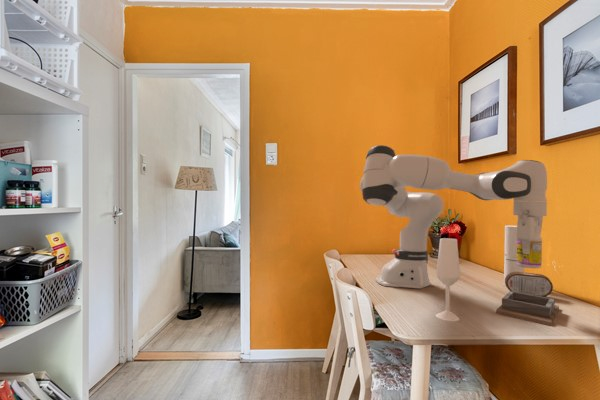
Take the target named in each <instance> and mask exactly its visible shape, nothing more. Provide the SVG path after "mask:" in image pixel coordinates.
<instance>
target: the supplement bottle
mask: <svg viewBox="0 0 600 400" xmlns="http://www.w3.org/2000/svg"><path fill="white" fill-rule="evenodd" d="M537 233H538V228H535V238H534V239H533V240H531V243H530V254H523V247H522V241H519V240H517V265H518V266H521V267H524V269H525V268H526V269H540V268H542V262H543V261H542V255H543V253H542V250H543V238H542V237H541V235H540V236H539V235H538V234H537Z"/></svg>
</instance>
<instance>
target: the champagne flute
mask: <svg viewBox="0 0 600 400" xmlns="http://www.w3.org/2000/svg"><path fill="white" fill-rule="evenodd" d="M458 248H459V247H458V239H457V238H450V237H449V238H448V237H447V238H446V237H443V238H440V239H439V246H438V256H437V262H436V263H437V264H436V271H435V272H436V277H437V279H438V280H439V281H440V282H441V283H442V284H443V285H445V309H444V310H443V311H440V312H438V313H436V314H435V316H436V318H437V319H440V320H442V321H446V322H458V321H460V318H459V317H458V316H457V315H456V314H455V313H453V312H452V311H450V309H451V307H450V305H451V304H450V302H451V301H450V300H451V286H453V285H454V284H455V283H457V282H458V281H459V280H460V278H461V272H460V271H461V269H460V258H459V249H458Z"/></svg>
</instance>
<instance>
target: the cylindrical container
mask: <svg viewBox="0 0 600 400" xmlns="http://www.w3.org/2000/svg"><path fill="white" fill-rule="evenodd" d="M503 262H504V264H503V265H504V266H503V267H504V269H503V283H504V285H505V278H506V276H507V275H508V274H509V273H512V272H524V273H525V267H521V266H518V265H517V225H509V224H508V225H505V226H504V261H503Z"/></svg>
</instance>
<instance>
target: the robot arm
mask: <svg viewBox="0 0 600 400" xmlns="http://www.w3.org/2000/svg"><path fill="white" fill-rule="evenodd" d="M547 174H548V173H547V167H546V166H545V164H544V163H543V162H541V161H537V160H532V159H521V160H517V162H515V163H514V164H512V165H511V166H509V167H506V168H504V169H501V170H497V171H489V172H488V171H487V172H485V171H484V172H481V173H477V174H470V173H465V172H459V171H454V170H452V169H451V168H450V165H449V164H448V162H447V161H446V160H443V159H441V158H438V157H434V156H429V155H421V154H397V155H396V152H395V150H394V149H393V148H392V147H391V146H388V145H380V144H378V145H375V146H373V147H371V148H369V150H368V151H367V153H366V157H365V164H364V168H363V176H362V177H361V179H360V181H359V190H360V192H361V193H362V194H361V195H362V199H363V201H364V202H366V204H370V205H372V206H378V207H379V206H384V207H386V209H387V211H388V213H389V214H391V215H393V216H396V217H398V218H399V217H400V218H409V221H408V224H407V225H406V226H404V227H403V228H402V229H401V230H400V232H399V248H398V249H396V248H393V249H392V250H391V253H392V254H393V255H394V258H393V259H391V260H389V261H388V262H387V263H385V264H384V265H383V266H382V268H381V272H380V275H377V276H376V277H375V281H376V282H377V283H378V284H379V285H381V286H384V287H395V288H409V289H410V288H411V289H423V288H425V287H428V286H430V285H431V282H430V276H429V272H428V270H429V269H428V262H429V254H428V250H427V249H428V245H427V244H428V234H429V229H430V227H431V225H432V223H433V222H434V221H435V220H436V219H437V218H438V217H440V216H441V214H442V213H443V210H444V201H443V199H442V197H441V196H440V195H439V194H436V193H433V192H428V191H438V190H439V191H440V190H443V189H448V190H449V189H450V190H455V191H461V192H465V193H466V192H467V193H470V194H471V195H472V196H474V197H476V198H477V199H479V200H483V201H493V200H496V201H502V200H503V201H504V200H511V199H513V210H512V211H513V212H512V213H513V215H514V216H517V222H516V223H517V224H516V226H517V240H519V241H522V247H523V254H530V243H531V240H533V239H534V238H535V228H538V233H537V234H538V235H539V236H540V237H541V233H542V230H543V229H542V227H543V220H544V219H543V218H544V217H547V211H548V210H547V207H548V206H547V205H548V203H547V202H548V201H547V197H546V191H547V188H548V175H547ZM406 187H409V188H414V189H419V190H426V191H427V190H428V191H427V192H422V191H421V192H415V191H413V192H412V191H407V188H406Z"/></svg>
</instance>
